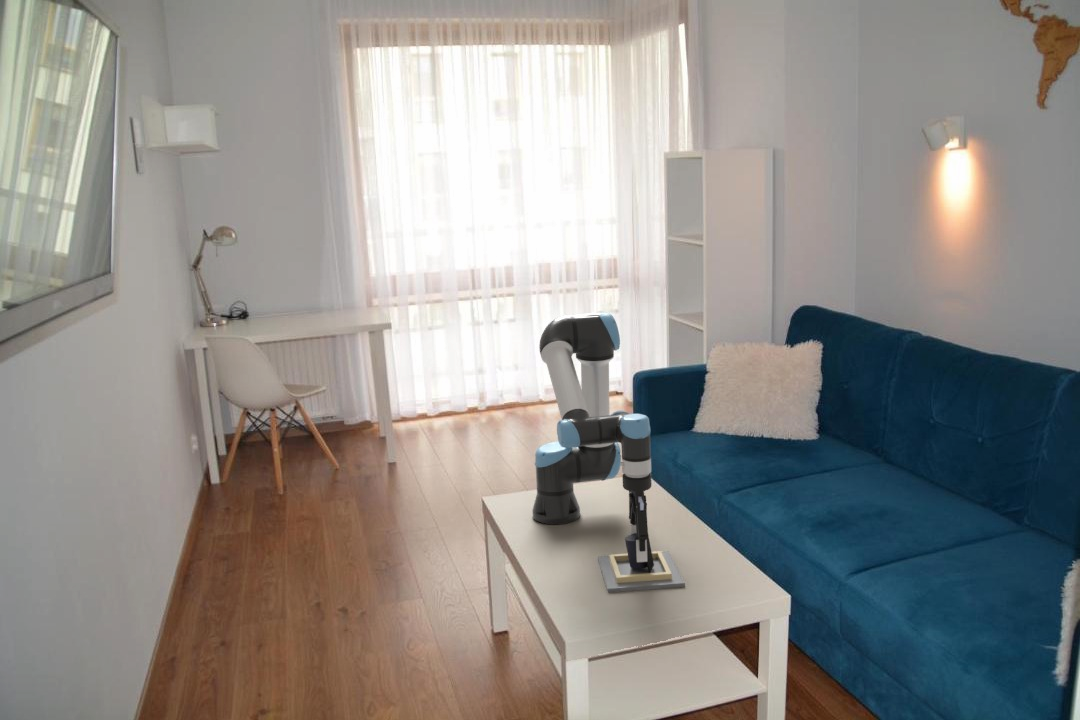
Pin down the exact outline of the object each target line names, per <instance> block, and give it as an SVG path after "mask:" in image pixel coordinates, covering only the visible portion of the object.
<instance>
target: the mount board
mask: <svg viewBox="0 0 1080 720" xmlns="http://www.w3.org/2000/svg"><path fill="white" fill-rule="evenodd" d="M651 552H652V557H653V562H654V566H653V569H652V571H651V573H649V572H648V567H646V568H643V569H632V568H631V567H630V563H629V558H628V553H615V554H609V555H599V556H597V560H598V564H599V567H600V572H601V574H602V577H603V580H604V585H605V584H606V585H605V587H606V591H607V593H615V592H616V593H617V591H620V592H630V591H631V592H633V591H644V590H646V589H647V590H657V589H658V590H659V589H670V588H671V589H672V588H684V587H686V582H685V580H684V578H683V577H682V574H681V573H680V570H679V569H678V566H677V565H676V563H675V561H674V558H673V556H672V554H671V552H670V551H669V550H667V551H662V550H658V551H657V550H656V551H655V550H654V551H651ZM632 590H633V591H632ZM647 590H646V591H647Z"/></svg>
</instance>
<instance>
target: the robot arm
mask: <svg viewBox="0 0 1080 720" xmlns="http://www.w3.org/2000/svg"><path fill="white" fill-rule="evenodd" d="M538 347H539V354H540V357H541V360H542V362H543V363H545V365H546V366H547V370H548V375H549V377H550V381H551V386H552V388H553V392H554V393H553V394H554V396H555V400H556V404H557V406H558V407H557V408H558V411H559V414H560V415H559V416H560V418H561V419H559V421H557V424H556V435H557V441H552V442H547V443H545V444H543V445H541V446H539V447H538V448H537V449H536V451H535V454H534V456H535V457H534V458H535V461H534V466H535V479H536V480H535V481H536V483H535V484H536V495H535V500H534V503H533V507H532V519H533V518H534V519H535V520H534V519H533V520H534V521H536V520H537V521H539V522H538V523H540V522H541V524H544V523H545V524H546V525H562V524H569V523H571V522H575V521H576V520H578V519H579V518H580V516H581V509H580V508H581V507H580V505H579V502H578V499H577V497H576V495H575V492H574V484H577V483H578V484H579V483H587V482H597V481H602V482H603V481H606V480H611V479H615V478H616V477H617V476H618V475H619V472H620V469H621V467H622V473H623V474H622V476H621V477H622V487H623V489H624V490H626V491H628V515H629V516H628V520H629V523H630V535H631V534H634V533H637V537H636V538H634V540H636V555H637V562H647V540H648V536H649V531H648V528H649V527H648V511H647V508H648V507H647V505H648V503H647V496H646V495H645V492H646V491H648V490H650V489H651V488H652V456H651V429H652V428H651V424H650V418H649V417H648V416H647V415H646V414H642V413H629V412H627V411H626V410H625V411H624V410H616V411H614V412H613V413H611V414H610V362H611V361H612V360H613V359H614V357H615V352H614V351H618V350H619V349H620V347H621V336H620V332H619V327H618V324H617V322H616V319H615V317H614V316H613V315H612V314H611V313H610V312H609V313H608V312H591V313H580V314H572V315H570V314H569V315H568V314H566V315H562V316H561V315H560V316H559V317H556V318H555V319H553V320H551V321H550V322H549V323H548V324H547V326H546V327H545V329H544V330H543V332H542V334H541V337H540V340H539V346H538ZM573 354H575V359H576V360H577V361H578V362H579V363H580V375H581V376H580V377H581V378H580V380H581V383H580V380H579V377H578V374H577V371H576V367H575V363H574V361H573V357H572V356H573ZM619 443H620V445H621V447H620V445H619ZM537 521H536V522H537ZM545 524H544V525H545Z"/></svg>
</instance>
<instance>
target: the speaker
mask: <svg viewBox="0 0 1080 720" xmlns="http://www.w3.org/2000/svg"><path fill="white" fill-rule="evenodd" d="M636 537H637V533H634V534H631V533H630V534H629V535H627V536H625V537H624V540H625V546H626V551H627V553H628V558H629V563H630V567H631V568H632V569H643V568H646V567H648V572H649V573H651V571H652V569H653V566H654V562H653V557H652V552H653V551H652V547H651V543H650V538H649V535H648V540H647V562H637V555H636V540H634V538H636ZM627 553H626V554H627Z"/></svg>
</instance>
